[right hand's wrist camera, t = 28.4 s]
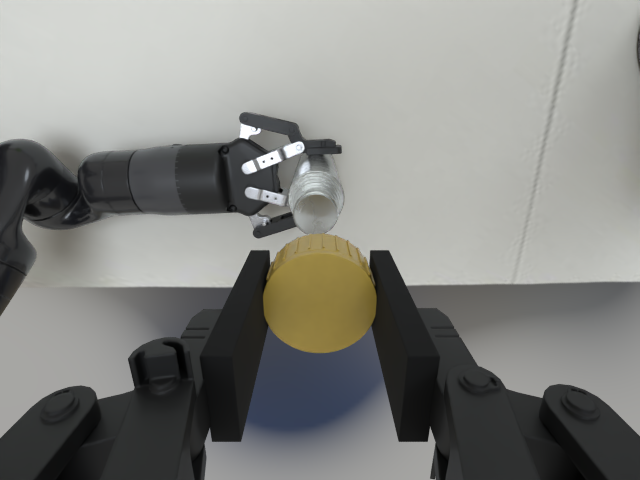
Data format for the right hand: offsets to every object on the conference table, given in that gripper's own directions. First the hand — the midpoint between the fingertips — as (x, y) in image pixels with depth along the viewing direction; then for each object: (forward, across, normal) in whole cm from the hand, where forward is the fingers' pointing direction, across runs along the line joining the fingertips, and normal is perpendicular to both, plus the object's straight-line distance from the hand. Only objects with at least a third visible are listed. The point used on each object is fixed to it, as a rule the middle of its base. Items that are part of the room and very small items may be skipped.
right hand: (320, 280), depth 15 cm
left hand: (+25, -2, 0) cm, 25 cm away
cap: (-2, 0, 0) cm, 2 cm away
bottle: (+31, 0, 0) cm, 31 cm away
